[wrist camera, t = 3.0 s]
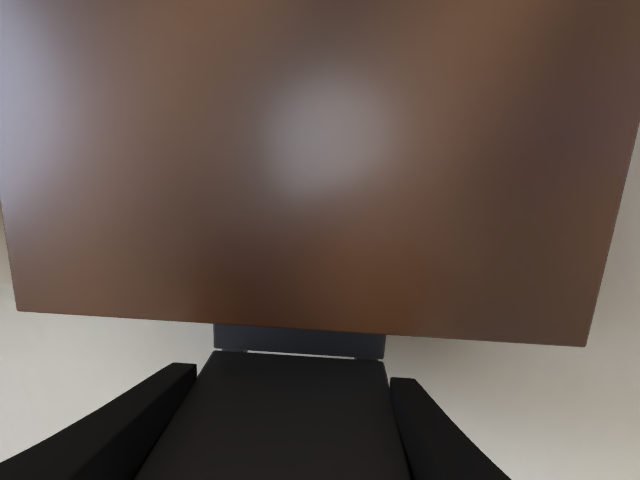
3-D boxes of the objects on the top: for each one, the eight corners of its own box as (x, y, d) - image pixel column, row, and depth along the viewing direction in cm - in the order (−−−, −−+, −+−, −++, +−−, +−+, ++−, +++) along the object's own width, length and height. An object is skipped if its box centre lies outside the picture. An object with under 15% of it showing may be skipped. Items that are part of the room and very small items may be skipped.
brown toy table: (546, 38, 11) (678, -35, 7) (503, 284, 13) (586, 348, 9) (98, 20, 11) (-42, -62, 7) (118, 261, 13) (15, 311, 9)
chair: (385, 179, 12) (473, 219, 4) (370, 345, 14) (418, 595, 6) (239, 171, 12) (77, 198, 5) (239, 336, 14) (116, 570, 6)
